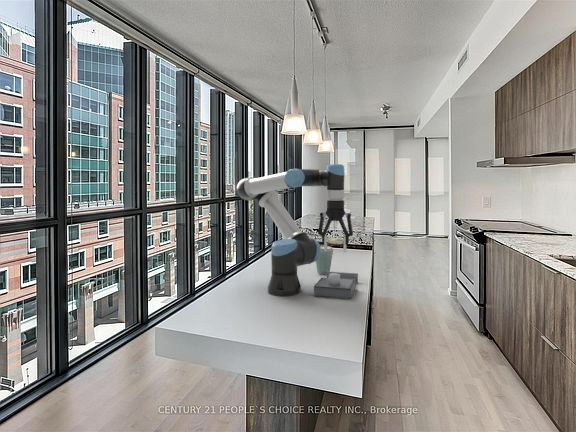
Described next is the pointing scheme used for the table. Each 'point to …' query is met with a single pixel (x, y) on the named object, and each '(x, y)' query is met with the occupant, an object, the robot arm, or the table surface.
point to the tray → (346, 275)
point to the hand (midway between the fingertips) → (335, 251)
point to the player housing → (334, 287)
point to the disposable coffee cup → (324, 260)
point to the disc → (335, 241)
